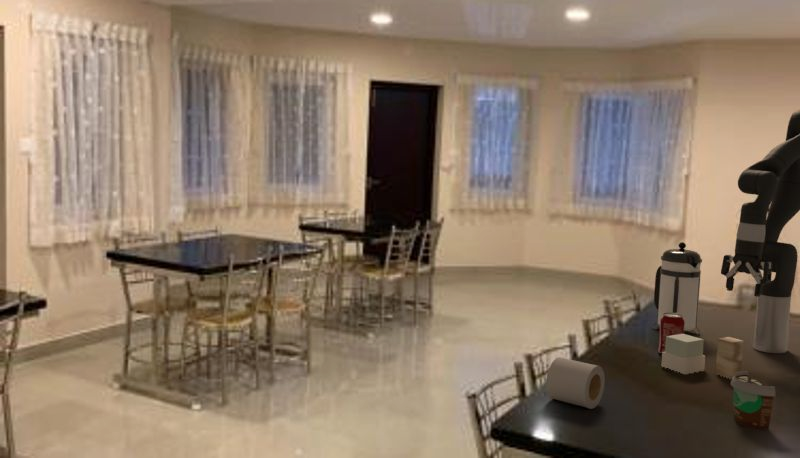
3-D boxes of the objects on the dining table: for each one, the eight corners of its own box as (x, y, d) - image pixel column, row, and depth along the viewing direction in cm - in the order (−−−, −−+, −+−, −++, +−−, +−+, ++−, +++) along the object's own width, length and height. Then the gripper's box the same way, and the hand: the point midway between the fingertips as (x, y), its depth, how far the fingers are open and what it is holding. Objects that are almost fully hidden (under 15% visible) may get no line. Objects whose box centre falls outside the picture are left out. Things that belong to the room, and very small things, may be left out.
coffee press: (705, 330, 265) (711, 241, 262) (694, 339, 252) (701, 246, 248) (652, 322, 275) (658, 237, 271) (640, 331, 261) (645, 241, 258)
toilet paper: (544, 402, 186) (547, 361, 185) (565, 393, 194) (567, 353, 193) (583, 413, 180) (586, 370, 179) (603, 403, 188) (605, 362, 187)
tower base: (680, 364, 224) (681, 348, 224) (704, 371, 217) (705, 355, 217) (661, 367, 220) (662, 352, 219) (684, 375, 213) (685, 359, 213)
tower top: (681, 349, 223) (682, 333, 222) (702, 355, 217) (703, 339, 217) (664, 352, 219) (666, 336, 219) (685, 358, 213) (687, 342, 213)
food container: (717, 412, 183) (721, 370, 182) (743, 412, 184) (746, 370, 183) (745, 432, 171) (748, 387, 170) (772, 431, 172) (776, 387, 170)
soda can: (683, 358, 229) (686, 317, 228) (659, 356, 231) (662, 316, 229) (680, 352, 236) (683, 312, 235) (656, 350, 237) (659, 311, 236)
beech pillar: (726, 372, 216) (728, 336, 215) (740, 376, 212) (743, 340, 211) (715, 374, 214) (718, 338, 213) (729, 379, 210) (732, 342, 209)
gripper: (780, 242, 227) (773, 297, 229) (734, 235, 238) (727, 288, 240) (767, 242, 222) (759, 299, 224) (720, 235, 233) (713, 289, 235)
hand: (743, 293), depth 232 cm, fingers open, 8 cm apart
